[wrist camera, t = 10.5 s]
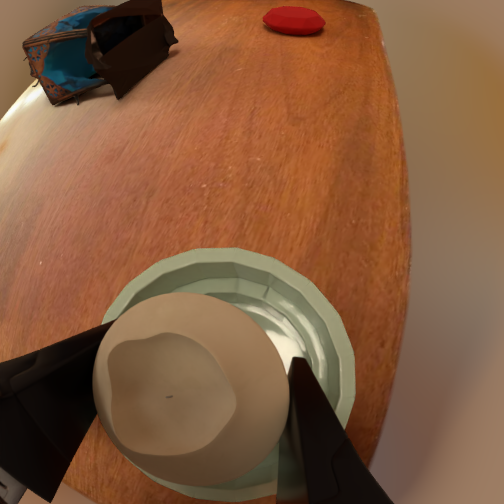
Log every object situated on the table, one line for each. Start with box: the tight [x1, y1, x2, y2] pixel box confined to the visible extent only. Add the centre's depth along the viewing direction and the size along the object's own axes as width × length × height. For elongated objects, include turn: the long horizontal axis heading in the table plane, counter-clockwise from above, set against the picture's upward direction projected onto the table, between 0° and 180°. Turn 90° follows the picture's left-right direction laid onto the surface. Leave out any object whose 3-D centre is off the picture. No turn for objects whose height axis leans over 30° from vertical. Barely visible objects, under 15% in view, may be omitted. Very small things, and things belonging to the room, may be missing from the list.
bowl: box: [101, 248, 356, 502], centre depth 12 cm, size 11×11×5 cm
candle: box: [93, 292, 290, 486], centre depth 9 cm, size 6×6×10 cm
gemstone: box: [263, 6, 326, 35], centre depth 30 cm, size 9×9×3 cm
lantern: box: [23, 0, 178, 105], centre depth 24 cm, size 16×16×25 cm
